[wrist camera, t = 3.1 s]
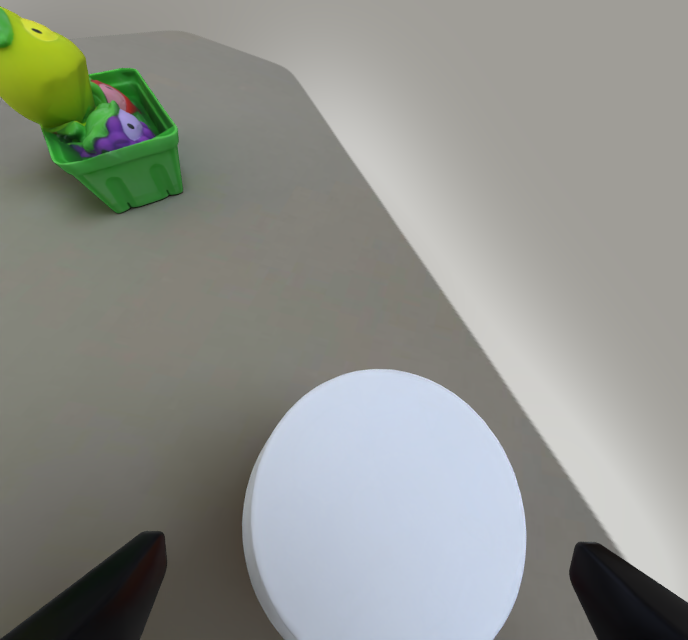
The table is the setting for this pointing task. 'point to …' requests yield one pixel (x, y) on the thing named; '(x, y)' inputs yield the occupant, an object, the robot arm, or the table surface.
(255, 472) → the pill bottle
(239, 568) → the table surface
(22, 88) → the fruit basket
